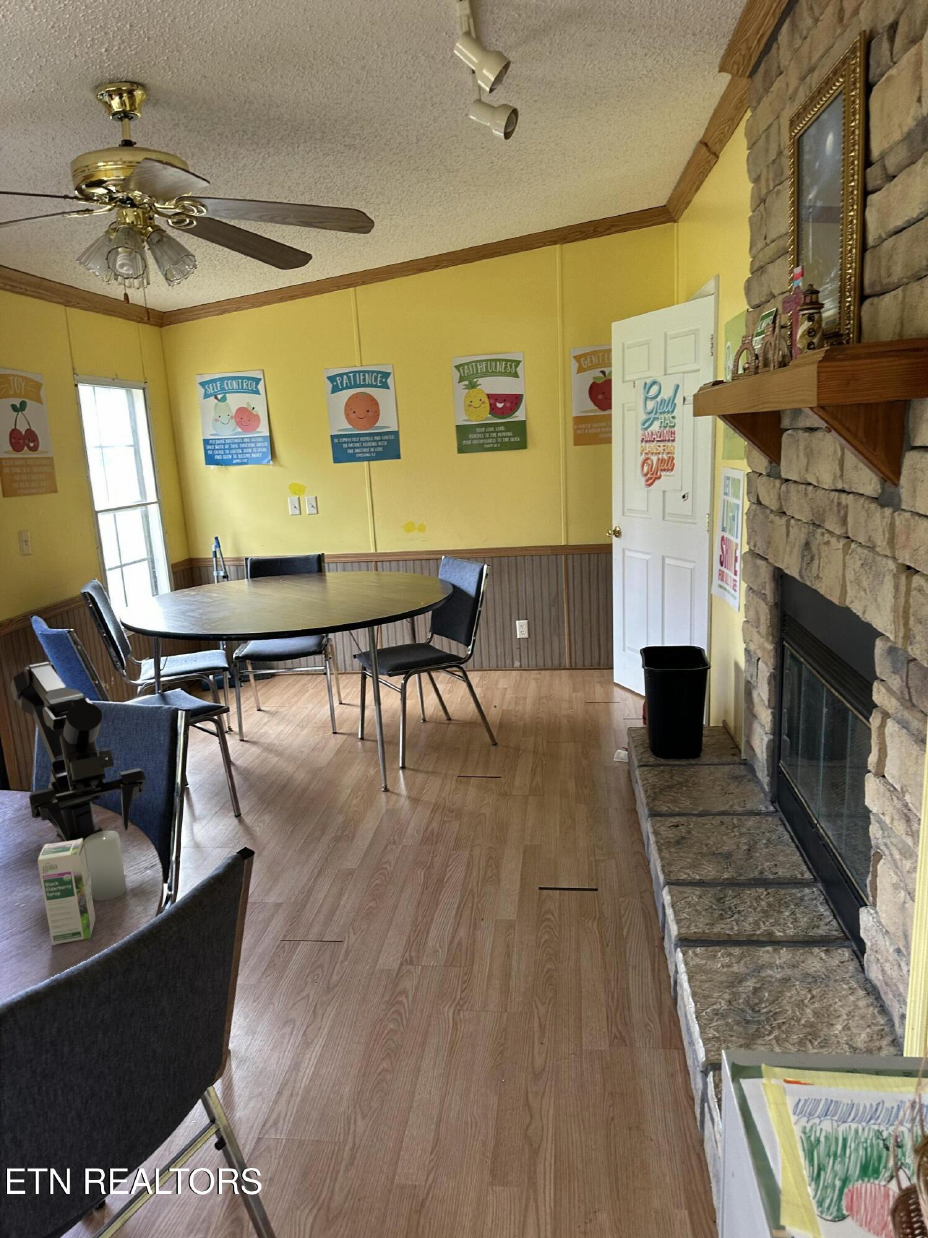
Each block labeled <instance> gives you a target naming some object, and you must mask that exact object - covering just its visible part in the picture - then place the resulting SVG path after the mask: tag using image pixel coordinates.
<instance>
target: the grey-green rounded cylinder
mask: <svg viewBox="0 0 928 1238" xmlns="http://www.w3.org/2000/svg"><path fill="white" fill-rule="evenodd" d="M83 842H84V849H85V856H86V862H87V868H88V874H89V880H90V884H91V885H90V887H91V894H92V899H93V900H95V901H99V902H100V901H101V902H105V901H111V900H115V899H117V898H118V897H120V896H122V895H124V894H125V893H126V891H127V888H128V887H127V882H126V875H125V874H124V871H125V868H124V860H123V856H122V855H123V854H122V850H121V849H122V847H121V840H120V834H119V832H117V831H115V830H104V831H103V830H101V831H98V832H95V833H93V834H90V835H88V836H86V838H85V839H83Z"/></svg>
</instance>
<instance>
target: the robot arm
mask: <svg viewBox="0 0 928 1238" xmlns="http://www.w3.org/2000/svg"><path fill="white" fill-rule="evenodd" d="M11 679H12V680H11V682H10V690H11V695H12V698H13V700H14V701H17V703H18V705H19V707H20V709H21V711H23V712H24V713H27V714H29V715H31V716H33V718H34V721H35V724H36V727H37V728H38V731H39V733H40V734H39V735H40V736H41V738H42V743H43V744H44V747H45V749H46V751H47V754H48V756H49V759H50V762H51V769H50V782H49V784H48V787H47V788H43V789H39V790H35V791H31V793H30V794H29V796H28V798H29V806H30V813H31V817H32V819H33V818H34V819H37V818H38V819H39V818H40V819H41V821H43V822H44V821H48V823H50V824H51V825H52V826H53V827H54V828H55V829H56V834H57V835H59V836H60V837H62V839H63V840H64V842H66V841H73V840H78V839H81V838H85V837H89V836H90V835H92V834H95V833H98V832H101V831H103V826H101V825H100V824H98V823H96V822H95V818H94V810H93V805H92V802H95V801H96V802H97V801H100V800H101V797H102V795H105V794H109V793H113V792H117V791H118V792H119V791H120V793H121V795H120V801H121V803H120V804H121V811H122V813H121V815H122V823H123V829H124V831H125V832H126V831H128V828H129V819H130V811H131V807H132V804H133V800H136V799H138V798H139V797H140V795H139V794H142V793H144V792H145V791H146V782H147V779H146V775H145V771H144V769H142V768H140V767H139V768H138V767H137V768H134V769H128V770H125V771H120V772H119V779H114V780H110V781H106V782H105V780H106V771H105V770H106V769H111V768H113V767H115V764H114V758H113V753H112V749H111V748H108V749H104V750H100V751H99V749H98V746H97V741H96V739H97V738H98V735H99V731H100V727H101V724H102V720H103V712H102V710H101V709H100V708H99V706H97V705H95V703H93V702H92V701H91V700H90V699H89V698H88V697H85V695H84V694H83V693H82V692H81V691H80V690H78V689H75V688H68V686H67V685H66V683H65V682H64V681H63V680H62V679H61V677H60V676H59V674H58V670H57V668H55V666H54V663H53V662H52V661H50V662H49V661H42V662H38V663H33V664H32V663H31V664H28V665H26V666H24V668H23V670H22V671H21V672H19V673H18V674H16V675H15V676H13V677H12V678H11Z"/></svg>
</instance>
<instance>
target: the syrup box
mask: <svg viewBox="0 0 928 1238" xmlns="http://www.w3.org/2000/svg"><path fill="white" fill-rule="evenodd" d="M37 866H38V872H39V873H38V874H39V877H40V883H41V888H42V889H41V890H42V895H43V898H44V904H45V905H44V906H45V911H46V917H47V922H48V927H49V928H48V929H49V937H50V942H51V945H52V946H57V945H59V944H65V943H71V942H76V941H81V940H89V939H91V938H92V933H93V930H94V927H95V926H94V925H95V923H96V915H95V909H94V899H93V896H92V890H91V885H90V881H89V880H90V877H89V871H88V865H87V858H86V852H85V846H84V837H82V838H80V839H77V840H73V841H66V842H65V841H60V842H55V843H46V844H44V845H43V847H42V849H41V851H40V853H39V856H38V858H37Z"/></svg>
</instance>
